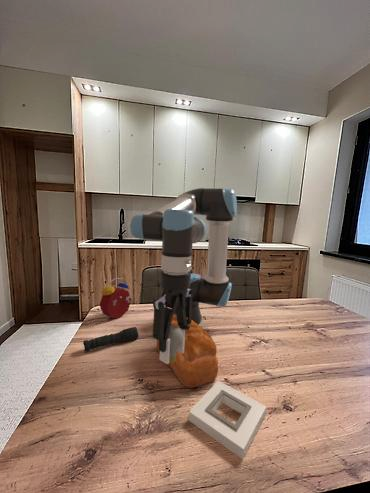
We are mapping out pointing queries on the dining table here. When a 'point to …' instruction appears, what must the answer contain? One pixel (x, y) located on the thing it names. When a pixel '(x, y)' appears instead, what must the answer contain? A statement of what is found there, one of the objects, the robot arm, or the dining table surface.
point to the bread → (195, 357)
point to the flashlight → (111, 339)
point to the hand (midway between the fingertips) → (172, 355)
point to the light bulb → (174, 341)
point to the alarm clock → (115, 300)
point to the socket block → (223, 429)
